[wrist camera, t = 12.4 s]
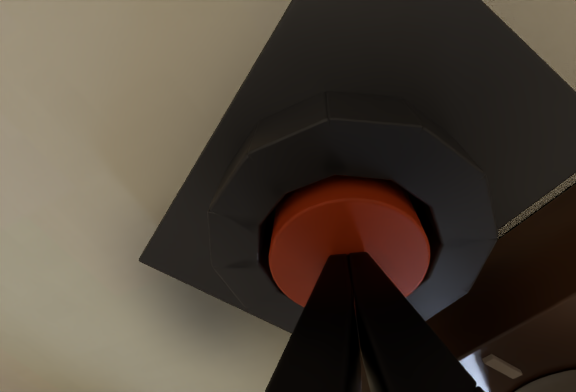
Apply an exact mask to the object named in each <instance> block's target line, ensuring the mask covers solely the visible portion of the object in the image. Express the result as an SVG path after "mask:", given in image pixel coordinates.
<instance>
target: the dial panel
mask: <svg viewBox="0 0 576 392" xmlns="http://www.w3.org/2000/svg"><path fill="white" fill-rule="evenodd" d="M426 323H427V324H428V325H429V326H430V327H431V329H432V330H433V331H434V332H435V333H436V334H437V336H438V337H439V338H440V339H441V340H442V342H443V343H444V344H445V345H446V346H447V348H448V349H449V350H450V351H451V352H452V354H453V355H454V356H455V357H456V358H457V360H458V361H459V362H460V363H461V364H462V365H463V367H464V368H465V369H466V370H467V371H468V373H469V374H470V375H471V376H472V377H473V379H474V380H475V381H476V383H477V385H476V387H477V386H480V387H481V388H482V389H483V390H484V391H485V392H515V391H516V390H518V389H519V388H521V387H522V386H524V385H526V384H528V383H530V382H532V381H535V380H537V379H540V378H542V377H545V376H548V375H552V374H556V373H559V372H564V371H569V370H575V369H576V184H575V185H573V186H572V187H571V188H569V189H568V190H566V191H565V192H564V193H562V194H561V195H559V196H558V197H557V198H555V199H554V200H552V201H551V202H550V203H548V204H547V205H546V206H544V207H543V208H541V209H540V210H539V211H537V212H536V213H534V214H533V215H532V216H530V217H529V218H527V219H526V220H525V221H523V222H522V223H520V224H519V225H518V226H516V227H515V228H513V229H512V230H511V231H509V232H508V233H507V234H505V235H504V236H502V237H501V238H500V239H498V240H497V242H496V244H495V246H494V247H493V249H492V251H491V253H490V255H489V257H488V259H487V260H486V262H485V264H484V266H483V268H482V270H481V272H480V273H479V275H478V277H477V279H476V281H475V283H474V285H473V286H472V288H471V289H470V290H469V292H468V293H467V294H466V295H464V296H463V297H461V298H460V299H458V300H457V301H455V302H454V303H452V304H451V305H449V306H448V307H446V308H445V309H443V310H442V311H440V312H439V313H437V314H436V315H434V316H433V317H431V318H430V319H428V320H427V321H426ZM359 344H360V342H359ZM360 354H361V348H360ZM361 392H371V391H370V387H369V383H368V379H367V375H366V372H365V368H364V363H363V359H362V354H361Z"/></svg>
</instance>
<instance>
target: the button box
mask: <svg viewBox="0 0 576 392" xmlns="http://www.w3.org/2000/svg"><path fill="white" fill-rule="evenodd" d="M574 173H576V91H575V90H574V89H573V88H572V87H570V86H569V85H568V84H567V83H566V82H565V81H564V80H563V79H562V78H561V77H560V76H559V75H558V74H557V73H556V72H555V71H554V70H553V69H552V68H551V67H550V66H549V65H548V64H547V63H546V62H545V61H544V60H543V59H542V58H540V57H539V56H538V55H537V54H536V53H535V52H534V51H533V50H532V49H531V48H530V47H529V46H528V45H527V44H526V43H525V42H524V41H523V40H522V39H521V38H520V37H519V36H518V35H517V34H516V33H515V32H514V31H513V30H512V29H511V28H509V27H508V26H507V25H506V24H505V23H504V22H503V21H502V20H501V19H500V18H499V17H498V16H497V15H496V14H495V13H494V12H493V11H492V10H491V9H490V8H489V7H488V6H487V5H486V4H485V3H484V2H483V1H482V0H292V1H291V3H290V4H289V6H288V8H287V9H286V11H285V13H284V15H283V16H282V18H281V20H280V21H279V23H278V25H277V26H276V28H275V30H274V31H273V33H272V35H271V37H270V38H269V40H268V42H267V43H266V45H265V47H264V48H263V50H262V52H261V53H260V55H259V57H258V58H257V60H256V62H255V64H254V65H253V67H252V69H251V70H250V72H249V74H248V75H247V77H246V79H245V80H244V82H243V84H242V86H241V87H240V89H239V91H238V92H237V94H236V96H235V97H234V99H233V101H232V102H231V104H230V106H229V107H228V109H227V111H226V113H225V114H224V116H223V118H222V119H221V121H220V123H219V124H218V126H217V128H216V129H215V131H214V133H213V135H212V136H211V138H210V140H209V141H208V143H207V145H206V146H205V148H204V150H203V151H202V153H201V155H200V156H199V158H198V160H197V162H196V163H195V165H194V167H193V168H192V170H191V172H190V173H189V175H188V177H187V178H186V180H185V182H184V184H183V185H182V187H181V189H180V190H179V192H178V194H177V195H176V197H175V199H174V200H173V202H172V204H171V205H170V207H169V209H168V211H167V212H166V214H165V216H164V217H163V219H162V221H161V222H160V224H159V226H158V227H157V229H156V231H155V233H154V234H153V236H152V238H151V239H150V241H149V243H148V244H147V246H146V248H145V249H144V251H143V253H142V254H141V256H140V258H139V261H140V262H142V263H144V264H146V265H148V266H150V267H152V268H154V269H157V270H159V271H161V272H163V273H165V274H167V275H169V276H171V277H174V278H176V279H178V280H180V281H182V282H184V283H186V284H188V285H190V286H193V287H195V288H197V289H199V290H201V291H203V292H205V293H207V294H209V295H212V296H214V297H216V298H218V299H220V300H222V301H224V302H226V303H229V304H231V305H233V306H235V307H237V308H239V309H241V310H243V311H245V312H248V313H250V314H252V315H254V316H256V317H258V318H260V319H262V320H264V321H267V322H269V323H271V324H273V325H275V326H277V327H279V328H281V329H284V330H286V331H288V332H290V333H293V331H294V329H295V326H296V324H297V322H298V320H299V318H300V316H301V314H302V312H303V309H304V307H302V306H301V305H299V304H297V303H295V302H294V301H292V300H291V299H290V298H288V297H287V296H286V295H285V294H284V293H283V292H282V291H281V289H280V288H279V287H278V286H277V284H276V282H275V281H274V279H273V276H272V274H271V271H270V266H269V250H270V244H271V237H272V231H273V224H274V217H275V211H276V206H277V204H278V203H279V202H280V201H281V200H282V198H283V197H284V196H285V195H286V194H287V193H289V192H292V191H295V190H297V189H300V188H302V187H305V186H308V185H310V184H313V183H316V182H318V181H321V180H323V179H326V178H329V177H331V176H334V175H341V176H352V177H363V178H374V179H385V180H392V181H393V182H394V183H396V184H397V185H399V186H400V187H402V188H403V189H405V190H406V192H407V194H408V196H409V198H410V200H411V203H412V205H413V207H414V209H415V211H416V214H417V216H418V218H419V220H420V222H421V225H422V227H423V229H424V231H425V233H426V236H427V238H428V241H429V245H430V262H429V267H428V270H427V273H426V275H425V277H424V279H423V280H422V282H421V283H420V285H419V286H418V287H417V288H416V289H415V290H414V291H413V292H412V293H411V294H410V295H409V296H408V297H406V299H407V300H408V301H409V302H410V304H411V305H412V306H413V307H414V308H415V309H416V311H417V312H418V313H419V314H420V315H421V317H422V318H423V319H424V320H425V321H427V320H428V319H430V318H431V317H433V316H434V315H436V314H437V313H439V312H440V311H442V310H443V309H445V308H446V307H448V306H449V305H451V304H452V303H454V302H455V301H457V300H458V299H460V298H461V297H463V296H464V295H466V294H467V293H468V292H469V290H470V289H471V288H472V286H473V285H474V283H475V281H476V279H477V277H478V275H479V273H480V272H481V270H482V268H483V266H484V264H485V262H486V260H487V259H488V257H489V255H490V253H491V251H492V249H493V247H494V246H495V244H496V242H497V237H498V229H500V228H501V227H502V226H504V225H505V224H506V223H508V222H509V221H511V220H512V219H513V218H515V217H516V216H517V215H519V214H520V213H521V212H523V211H524V210H526V209H527V208H528V207H530V206H531V205H532V204H534V203H535V202H536V201H538V200H539V199H540V198H542V197H543V196H545V195H546V194H547V193H549V192H550V191H551V190H553V189H554V188H555V187H557V186H558V185H560V184H561V183H562V182H564V181H565V180H566V179H568V178H569V177H570V176H572V175H573V174H574ZM356 321H357V319H356ZM357 328H358V327H357ZM358 336H359V335H358Z"/></svg>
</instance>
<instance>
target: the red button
mask: <svg viewBox="0 0 576 392" xmlns="http://www.w3.org/2000/svg"><path fill="white" fill-rule="evenodd" d="M355 252H367V253H368V254H369V255H370V256H371V257H372V258H373V259H374V261H375V262H376V263H377V264H378V265H379V267H380V268H381V269H382V270H383V271H384V273H385V274H386V275H387V276H388V277H389V278H390V280H391V281H392V282H393V283H394V284H395V286H396V287H397V288H398V289H399V290H400V292H401V293H402V294H403V295H404V296H405V298H406V297H408V296H409V295H410V294H411V293H412V292H413V291H414V290H415V289H416V288H417V287H418V286H419V285H420V283H421V282H422V280H423V279H424V277H425V275H426V273H427V270H428V267H429V262H430V245H429V241H428V238H427V236H426V233H425V231H424V229H423V227H422V225H421V222H420V220H419V218H418V216H417V214H416V211H415V209H414V207H413V205H412V203H411V200H410V198H409V196H408V194H407V192H406V190H405V189H403V188H402V187H400V186H399V185H397V184H396V183H394V182H393V181H392V180H385V179H374V178H363V177H352V176H341V175H334V176H331V177H329V178H326V179H323V180H321V181H318V182H316V183H313V184H310V185H308V186H305V187H302V188H300V189H297V190H295V191H292V192H289V193H287V194H286V195H285V196H284V197H283V198H282V200H281V201H280V202H279V203H278V204H277V206H276V211H275V217H274V224H273V231H272V237H271V244H270V250H269V266H270V271H271V274H272V276H273V279H274V281H275V282H276V284H277V286H278V287H279V288H280V289H281V291H282V292H283V293H284V294H285V295H286V296H287V297H288V298H290V299H291V300H292V301H294V302H295V303H297V304H299V305H301V306H302V307H305V305H306V303H307V301H308V299H309V297H310V295H311V292H312V290H313V288H314V286H315V284H316V282H317V280H318V278H319V275H320V273H321V271H322V269H323V267H324V265H325V263H326V261H327V259H328V257H329V256H330V255H335V254H347V255H349V254H350V253H355ZM348 260H349V258H348ZM349 267H350V266H349ZM350 275H351V274H350ZM352 290H353V289H352ZM354 305H355V304H354ZM355 313H356V312H355Z"/></svg>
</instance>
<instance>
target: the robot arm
mask: <svg viewBox="0 0 576 392" xmlns="http://www.w3.org/2000/svg"><path fill="white" fill-rule="evenodd" d="M348 258H349V260H348ZM349 266H350V267H349ZM350 274H351V275H350ZM352 289H353V290H352ZM354 304H355V305H354ZM355 312H356V313H355ZM356 319H357V321H356ZM357 327H358V328H357ZM358 335H359V336H358ZM359 342H360V344H359ZM360 348H361V354H362V359H363V363H364V368H365V372H366V375H367V379H368V383H369V387H370V391H371V392H485V391H484V390H483V389H482V388H481V387H480V386H477V387H476V385H477V383H476V381H475V380H474V379H473V377H472V376H471V375H470V374H469V373H468V371H467V370H466V369H465V368H464V367H463V365H462V364H461V363H460V362H459V361H458V360H457V358H456V357H455V356H454V355H453V354H452V352H451V351H450V350H449V349H448V348H447V346H446V345H445V344H444V343H443V342H442V340H441V339H440V338H439V337H438V336H437V334H436V333H435V332H434V331H433V330H432V329H431V327H430V326H429V325H428V324H427V323H426V321H425V320H424V319H423V318H422V317H421V315H420V314H419V313H418V312H417V311H416V309H415V308H414V307H413V306H412V305H411V304H410V302H409V301H408V300H407V299H406V298H405V296H404V295H403V294H402V293H401V292H400V290H399V289H398V288H397V287H396V286H395V284H394V283H393V282H392V281H391V280H390V278H389V277H388V276H387V275H386V274H385V273H384V271H383V270H382V269H381V268H380V267H379V265H378V264H377V263H376V262H375V261H374V259H373V258H372V257H371V256H370V255H369V254H368V253H367V252H355V253H350V254H349V255H347V254H335V255H330V256H329V257H328V259H327V261H326V263H325V265H324V267H323V269H322V271H321V273H320V275H319V278H318V280H317V282H316V284H315V286H314V288H313V290H312V292H311V295H310V297H309V299H308V301H307V303H306V305H305V307H304V309H303V312H302V314H301V316H300V318H299V320H298V322H297V324H296V326H295V329H294V331H293V333H292V335H291V337H290V339H289V341H288V343H287V345H286V348H285V350H284V352H283V354H282V356H281V358H280V360H279V362H278V365H277V367H276V369H275V371H274V373H273V375H272V377H271V379H270V382H269V384H268V386H267V388H266V390H265V392H361V354H360Z"/></svg>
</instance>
